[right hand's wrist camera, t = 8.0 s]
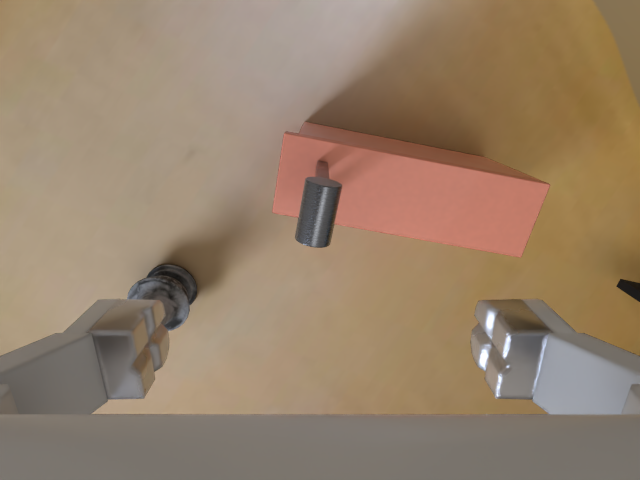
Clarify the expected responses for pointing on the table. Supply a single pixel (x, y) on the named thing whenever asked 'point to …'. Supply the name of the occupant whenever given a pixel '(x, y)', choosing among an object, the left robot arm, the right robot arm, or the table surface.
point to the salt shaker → (168, 293)
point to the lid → (402, 196)
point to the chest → (407, 148)
